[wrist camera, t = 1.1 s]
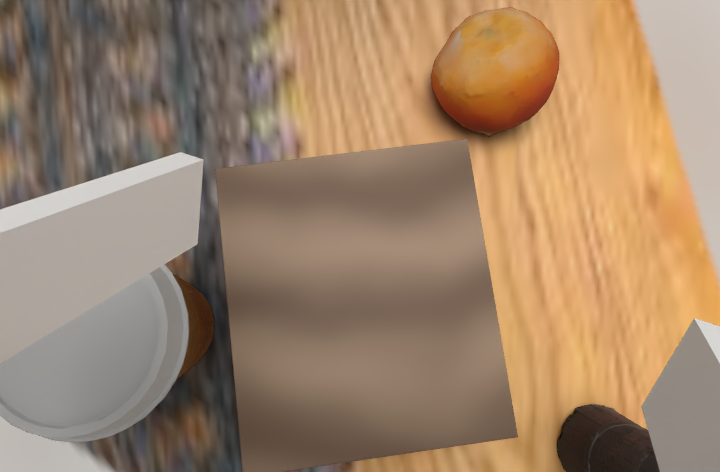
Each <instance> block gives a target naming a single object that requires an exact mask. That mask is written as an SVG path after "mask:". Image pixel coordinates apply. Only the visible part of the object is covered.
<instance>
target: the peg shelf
mask: <svg viewBox="0 0 720 472" xmlns="http://www.w3.org/2000/svg"><path fill="white" fill-rule="evenodd" d="M215 172H216V183H217V194H218V205H219V216H220V227H221V238H222V249H223V260H224V271H225V282H226V293H227V304H228V315H229V326H230V337H231V348H232V359H233V370H234V381H235V392H236V403H237V414H238V425H239V436H240V447H241V458H242V469H243V472H283V471H290V470H296V469H303V468H310V467H317V466H324V465H331V464H337V463H344V462H351V461H358V460H365V459H372V458H378V457H385V456H392V455H399V454H406V453H413V452H419V451H426V450H433V449H440V448H447V447H453V446H460V445H467V444H474V443H481V442H488V441H494V440H501V439H508V438H515V437H518V435H517V429H516V423H515V417H514V412H513V406H512V400H511V394H510V388H509V382H508V376H507V371H506V365H505V359H504V353H503V347H502V341H501V335H500V329H499V324H498V318H497V312H496V306H495V300H494V294H493V288H492V283H491V277H490V271H489V265H488V259H487V253H486V247H485V242H484V236H483V230H482V224H481V218H480V212H479V206H478V200H477V195H476V189H475V183H474V177H473V171H472V165H471V159H470V154H469V148H468V142H467V139H462V140H454V141H445V142H437V143H429V144H420V145H412V146H403V147H395V148H387V149H378V150H370V151H361V152H353V153H344V154H336V155H328V156H319V157H311V158H302V159H294V160H285V161H277V162H269V163H260V164H252V165H243V166H235V167H227V168H218V169H215Z"/></svg>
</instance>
